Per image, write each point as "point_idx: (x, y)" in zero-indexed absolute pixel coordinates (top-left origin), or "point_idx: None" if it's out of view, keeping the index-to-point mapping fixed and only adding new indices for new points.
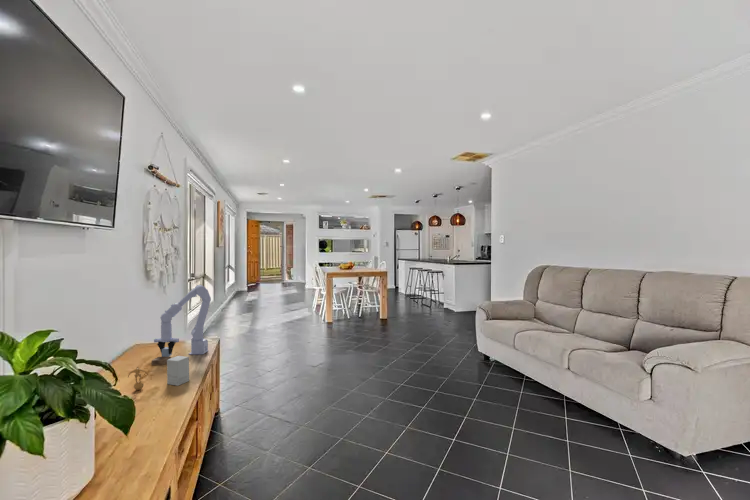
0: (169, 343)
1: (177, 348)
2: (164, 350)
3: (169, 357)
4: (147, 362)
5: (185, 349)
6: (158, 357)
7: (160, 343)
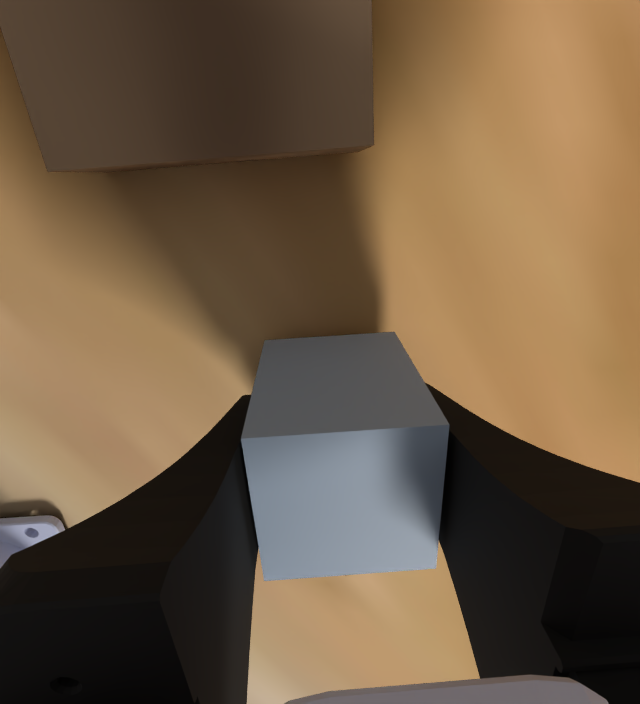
0: (48, 615)
1: (409, 682)
2: (351, 405)
3: (46, 138)
4: (555, 24)
5: (284, 666)
6: (325, 62)
7: (615, 611)
